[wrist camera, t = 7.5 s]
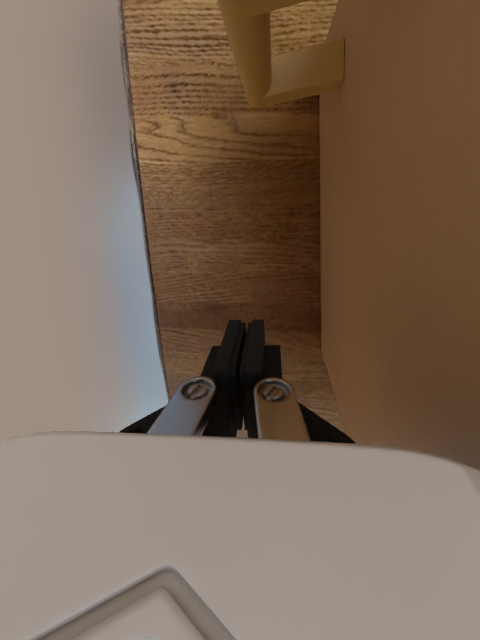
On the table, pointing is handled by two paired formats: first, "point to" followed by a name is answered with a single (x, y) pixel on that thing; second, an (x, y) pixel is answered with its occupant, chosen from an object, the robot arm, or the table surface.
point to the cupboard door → (391, 208)
